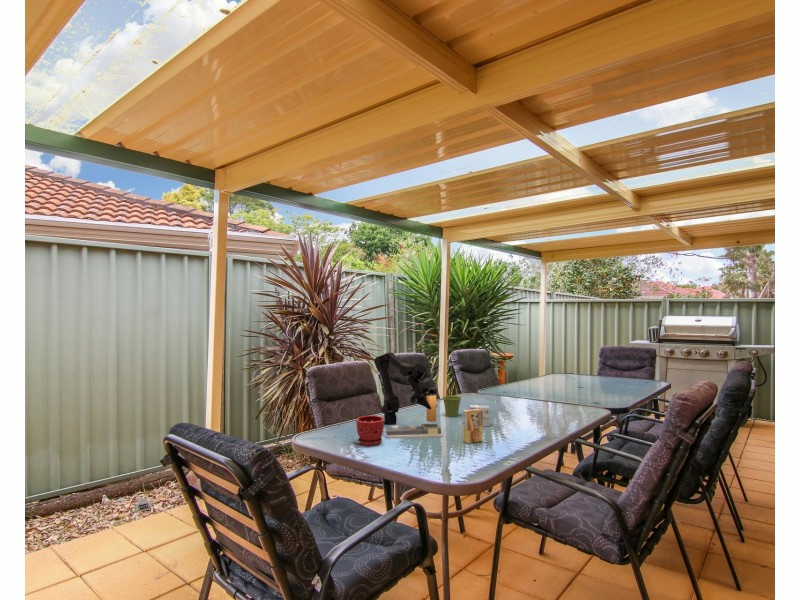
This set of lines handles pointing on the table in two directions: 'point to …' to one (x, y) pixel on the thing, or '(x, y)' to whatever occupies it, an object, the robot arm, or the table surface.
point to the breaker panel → (414, 431)
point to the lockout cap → (431, 412)
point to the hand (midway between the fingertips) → (433, 408)
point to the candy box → (472, 425)
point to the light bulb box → (483, 413)
